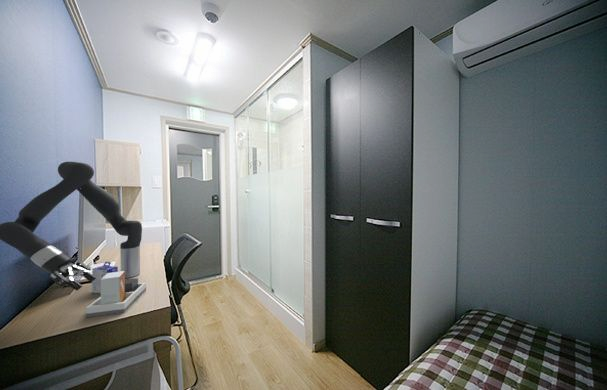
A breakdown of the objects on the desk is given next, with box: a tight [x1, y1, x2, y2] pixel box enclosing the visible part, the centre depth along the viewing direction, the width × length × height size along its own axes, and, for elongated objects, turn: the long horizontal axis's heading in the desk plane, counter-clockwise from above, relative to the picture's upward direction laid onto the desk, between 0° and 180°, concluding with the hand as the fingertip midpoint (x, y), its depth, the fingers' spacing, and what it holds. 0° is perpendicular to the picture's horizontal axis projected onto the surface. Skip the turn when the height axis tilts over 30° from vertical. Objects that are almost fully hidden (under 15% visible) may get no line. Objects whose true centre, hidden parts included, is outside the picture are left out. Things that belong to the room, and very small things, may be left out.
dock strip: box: [85, 277, 147, 318], centre depth 97 cm, size 21×13×8 cm, turn 16°
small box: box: [100, 271, 126, 305], centre depth 92 cm, size 8×6×13 cm
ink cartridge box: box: [91, 261, 119, 294], centre depth 108 cm, size 10×6×14 cm, turn 78°
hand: (87, 284), depth 90 cm, fingers open, 8 cm apart
